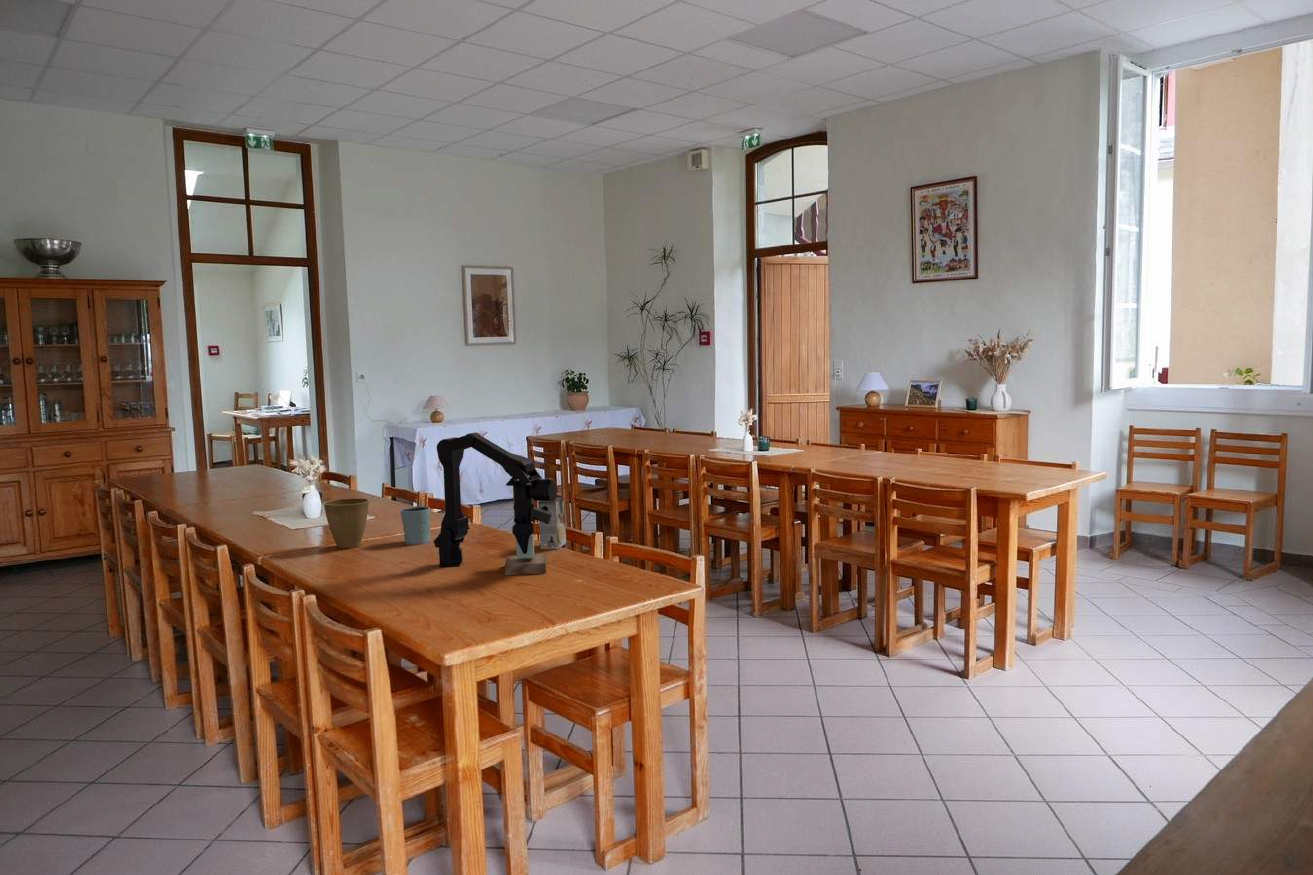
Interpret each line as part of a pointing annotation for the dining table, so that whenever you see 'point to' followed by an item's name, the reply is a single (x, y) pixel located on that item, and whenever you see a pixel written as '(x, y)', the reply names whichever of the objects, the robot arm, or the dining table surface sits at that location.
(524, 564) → the grayish brown panel
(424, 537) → the blue-grey cup
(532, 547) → the sage block
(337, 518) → the plant pot
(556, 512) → the coffee box
